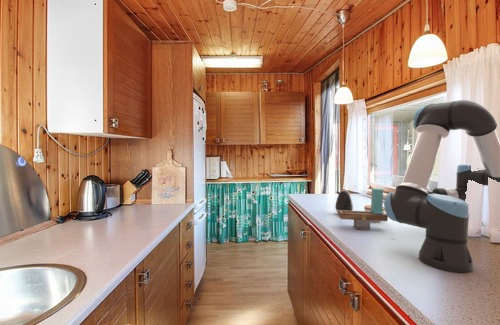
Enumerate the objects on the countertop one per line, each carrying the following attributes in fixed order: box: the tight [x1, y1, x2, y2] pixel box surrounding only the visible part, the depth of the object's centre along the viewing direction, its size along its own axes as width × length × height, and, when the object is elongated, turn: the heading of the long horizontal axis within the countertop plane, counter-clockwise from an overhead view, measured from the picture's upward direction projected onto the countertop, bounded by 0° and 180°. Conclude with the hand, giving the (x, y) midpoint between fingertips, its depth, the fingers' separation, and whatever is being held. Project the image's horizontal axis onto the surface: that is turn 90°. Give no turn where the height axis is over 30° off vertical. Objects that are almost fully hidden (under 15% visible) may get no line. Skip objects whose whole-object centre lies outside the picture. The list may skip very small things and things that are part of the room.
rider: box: [370, 187, 384, 214], centre depth 132 cm, size 6×4×15 cm, turn 174°
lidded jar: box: [364, 204, 386, 223], centre depth 149 cm, size 11×11×9 cm
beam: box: [337, 210, 389, 231], centre depth 133 cm, size 7×22×8 cm, turn 84°
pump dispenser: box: [334, 189, 354, 214], centre depth 162 cm, size 10×10×15 cm
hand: (393, 194), depth 131 cm, fingers closed
